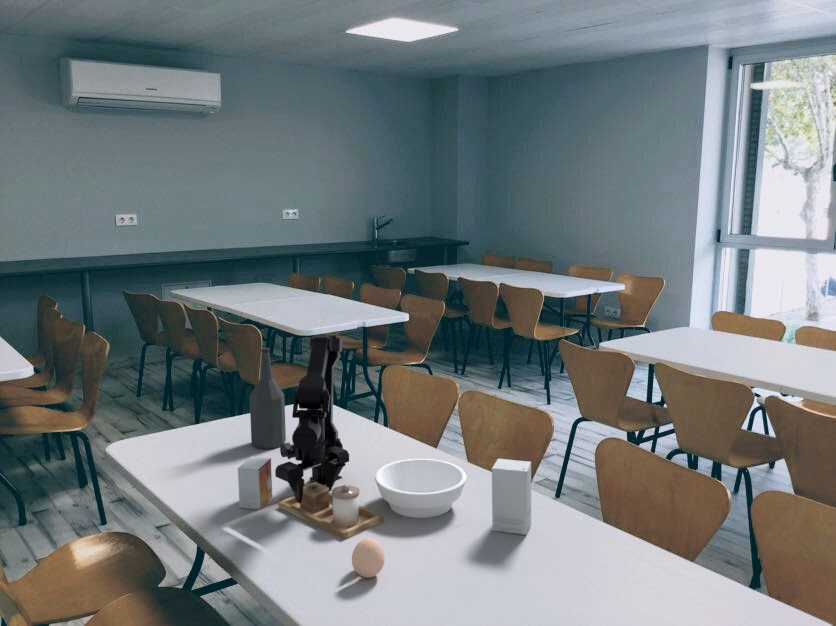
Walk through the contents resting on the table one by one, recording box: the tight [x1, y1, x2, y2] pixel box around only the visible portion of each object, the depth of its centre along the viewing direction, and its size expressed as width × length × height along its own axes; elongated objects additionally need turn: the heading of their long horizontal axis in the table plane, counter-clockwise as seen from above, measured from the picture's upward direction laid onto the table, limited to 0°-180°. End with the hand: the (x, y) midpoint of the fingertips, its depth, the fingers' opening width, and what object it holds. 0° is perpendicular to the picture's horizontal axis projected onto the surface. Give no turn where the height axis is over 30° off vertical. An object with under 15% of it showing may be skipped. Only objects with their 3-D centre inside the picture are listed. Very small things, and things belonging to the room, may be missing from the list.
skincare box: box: [491, 458, 532, 536], centre depth 169 cm, size 8×7×16 cm
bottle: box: [249, 347, 287, 450], centre depth 223 cm, size 10×10×30 cm
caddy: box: [278, 492, 384, 540], centre depth 176 cm, size 12×24×2 cm, turn 47°
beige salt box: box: [300, 481, 330, 513], centre depth 179 cm, size 5×5×5 cm
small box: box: [237, 456, 273, 510], centre depth 183 cm, size 8×6×10 cm
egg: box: [351, 537, 386, 579], centre depth 149 cm, size 7×7×8 cm
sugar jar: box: [331, 484, 360, 527], centre depth 171 cm, size 6×6×9 cm
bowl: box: [374, 458, 467, 519], centre depth 181 cm, size 22×22×8 cm
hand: (314, 496), depth 179 cm, fingers open, 9 cm apart
